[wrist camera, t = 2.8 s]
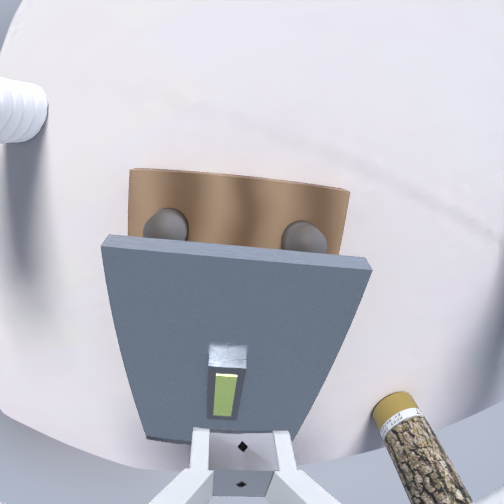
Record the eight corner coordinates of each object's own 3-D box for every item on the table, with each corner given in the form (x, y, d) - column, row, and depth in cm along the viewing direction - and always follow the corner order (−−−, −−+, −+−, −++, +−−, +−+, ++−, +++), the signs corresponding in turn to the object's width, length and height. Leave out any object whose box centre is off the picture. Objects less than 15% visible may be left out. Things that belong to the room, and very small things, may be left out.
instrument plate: (364, 256, 21) (378, 279, 18) (286, 438, 34) (288, 456, 32) (109, 233, 19) (94, 255, 17) (149, 429, 33) (146, 448, 30)
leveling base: (343, 188, 30) (361, 196, 25) (289, 421, 40) (294, 446, 35) (136, 168, 28) (119, 172, 23) (146, 411, 38) (140, 436, 33)
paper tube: (372, 425, 42) (425, 552, 18) (369, 400, 40) (434, 542, 16) (409, 409, 41) (473, 526, 18) (410, 383, 39) (488, 512, 16)
